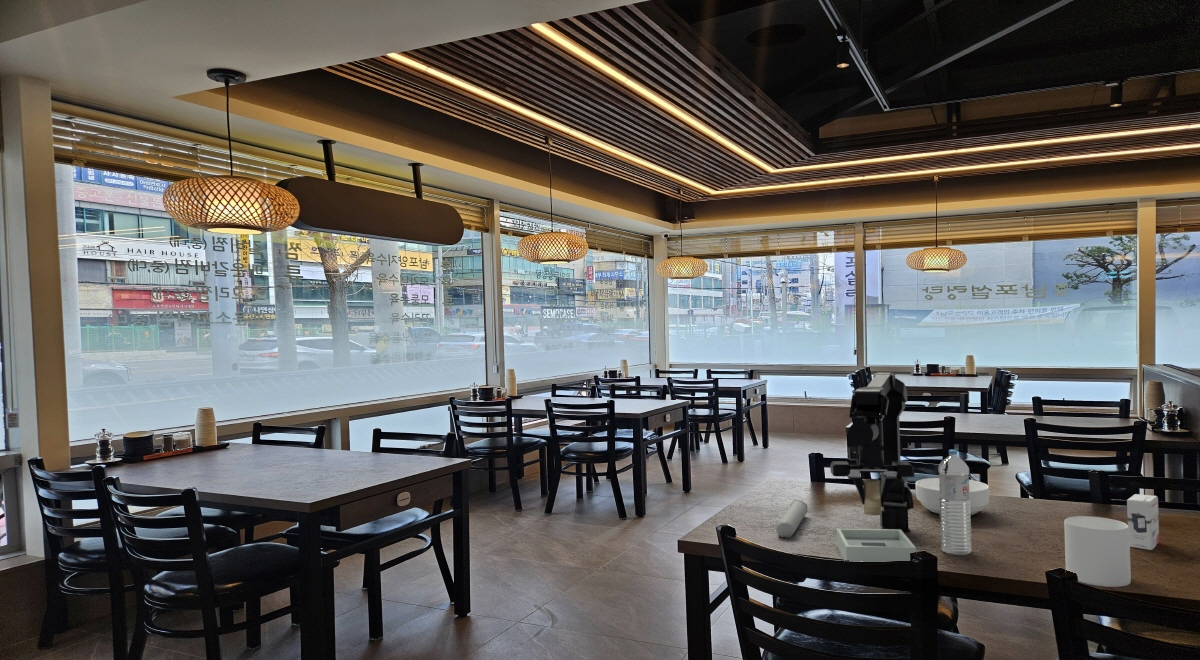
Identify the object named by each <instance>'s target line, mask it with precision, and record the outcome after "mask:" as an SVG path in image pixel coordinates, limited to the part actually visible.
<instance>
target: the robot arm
mask: <svg viewBox="0 0 1200 660" xmlns="http://www.w3.org/2000/svg"><path fill="white" fill-rule="evenodd" d="M907 402H908V389H907V388H906V384H905V382H903V381H902V380H900V379H898V378H897V377H896V375H895V374H894V373H892V372H876V373H874V374H873V377H872V379H871V380H870V382H869V383H868V384H867V386H865V387H863V386H862V387H859V388H856V389H855V391H854V393H852V395H851V401H850V408H849V419H855V422H854V423H852V424H851V425H850V427H849V428H848V430H847V435H848V436H847V437H848V439H849V441H850V442H851V443H852V444H853V445H856V446H848V449H847V451H848V453H847V454H848V460H849V461H856V464H849V462H848V461H847V460H845V461H843V460H841V461H840V460H837V461H834V460H833V461H831V463H830V465H829V466H830V467H829V468H830V474H831V475H832V476H833V477H847V479H848V480H849V481H853V483H854V486H855V487H856V490H857V492H858V495H859V499H860V502H861V504H862V505H864V500H865V499H864V490H863V477H861V473H863V474H865V473H867V474H873V473H874V474H875V473H876V474H877V473H878V474H880V476H879V477H878V478H877V480H880V481H881V513H882V514H881V515H879V525H880V526H881V528H882V529H899V530H902V532H903V533H904V532H911V528H910V527H909V510H911V509H914V507H915V506H914V505H915V503H914V497H913V493H912V491H911V489H910V487H909V486H908V485H909V484H908V479H907V478H914V477H915V467H914V466H913V465H912V464H911V463H909V461H901V440H900V439H901V433H900V432H901V430H900V428H901V427H900V426H901V425H900V417H901V414H903V412H904V410H905V409H906V403H907ZM857 446H858V448H857Z"/></svg>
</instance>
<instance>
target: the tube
mask: <svg viewBox="0 0 1200 660" xmlns="http://www.w3.org/2000/svg"><path fill="white" fill-rule="evenodd" d="M808 511H809V510H808V504H807V503H805V501H803V500H802V499H793V500H792V502H791V503H790V504H789V507H788V509H786V511H785V513H784V514H783V515H782V517H781V519H780V520H779V521H778V523H777V524H776V527H775V528H776V530H775V531H776V534H777V535H779V536H780V538H783V537H785V538H788V539H791V538H792V536H793V535H794V533H795V531H797V529H798V527H799V525H800V524H801V522H802V521H803V519H804V517H805V516H806V515H807V514H808Z"/></svg>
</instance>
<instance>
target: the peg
mask: <svg viewBox="0 0 1200 660" xmlns="http://www.w3.org/2000/svg"><path fill="white" fill-rule="evenodd" d="M862 482H863V490H864V499H865V500H864V504H863V513H864V514H865V515H867V516H868V515H869V516H880V515H881V514H882V513H881V510H882V507H881V481H880V480H878V478H877V479H876V478H865V479H862Z"/></svg>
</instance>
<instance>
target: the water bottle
mask: <svg viewBox="0 0 1200 660" xmlns="http://www.w3.org/2000/svg"><path fill="white" fill-rule="evenodd" d="M937 468H938V478H939V486H940V498H939V501H940V503H939V504H940V514H939V523H940V524H939V525H940V526H939V527H940V528H939V529H940V546H941V547H940V548H941V551H942V552H944V553H945V554H948V555H953V556H967V555H970V554H971V552H972V530H971V529H972V524H971V523H972V522H971V521H972V519H971V516H972V515H970V499H969V480H970V478H969V477H970V468H969V466H968V465H967V463H966V462H965V461H964V460H963V459H962V458H960V457H959V456H958V450H956V449H949V450H948V456H947V457H946V458H944V459H943V460H941V462H940V463H939V465H938V467H937Z"/></svg>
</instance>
